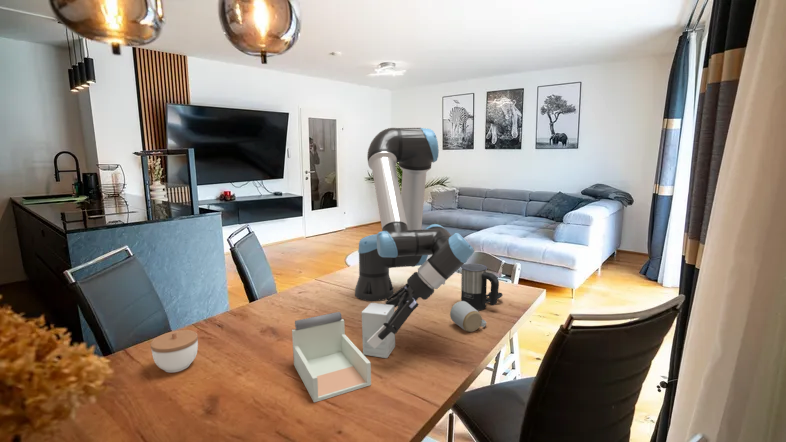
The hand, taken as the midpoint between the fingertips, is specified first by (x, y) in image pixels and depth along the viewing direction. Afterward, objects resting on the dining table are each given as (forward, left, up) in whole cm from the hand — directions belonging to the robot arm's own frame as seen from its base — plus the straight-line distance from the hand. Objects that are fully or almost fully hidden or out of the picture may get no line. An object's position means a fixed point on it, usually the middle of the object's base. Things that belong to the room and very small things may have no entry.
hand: (371, 333), depth 109 cm
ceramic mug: (+1, +34, -6) cm, 34 cm away
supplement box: (+1, +2, -6) cm, 6 cm away
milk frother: (-12, +50, -6) cm, 52 cm away
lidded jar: (-17, -48, -6) cm, 51 cm away
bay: (+6, -14, -5) cm, 16 cm away
